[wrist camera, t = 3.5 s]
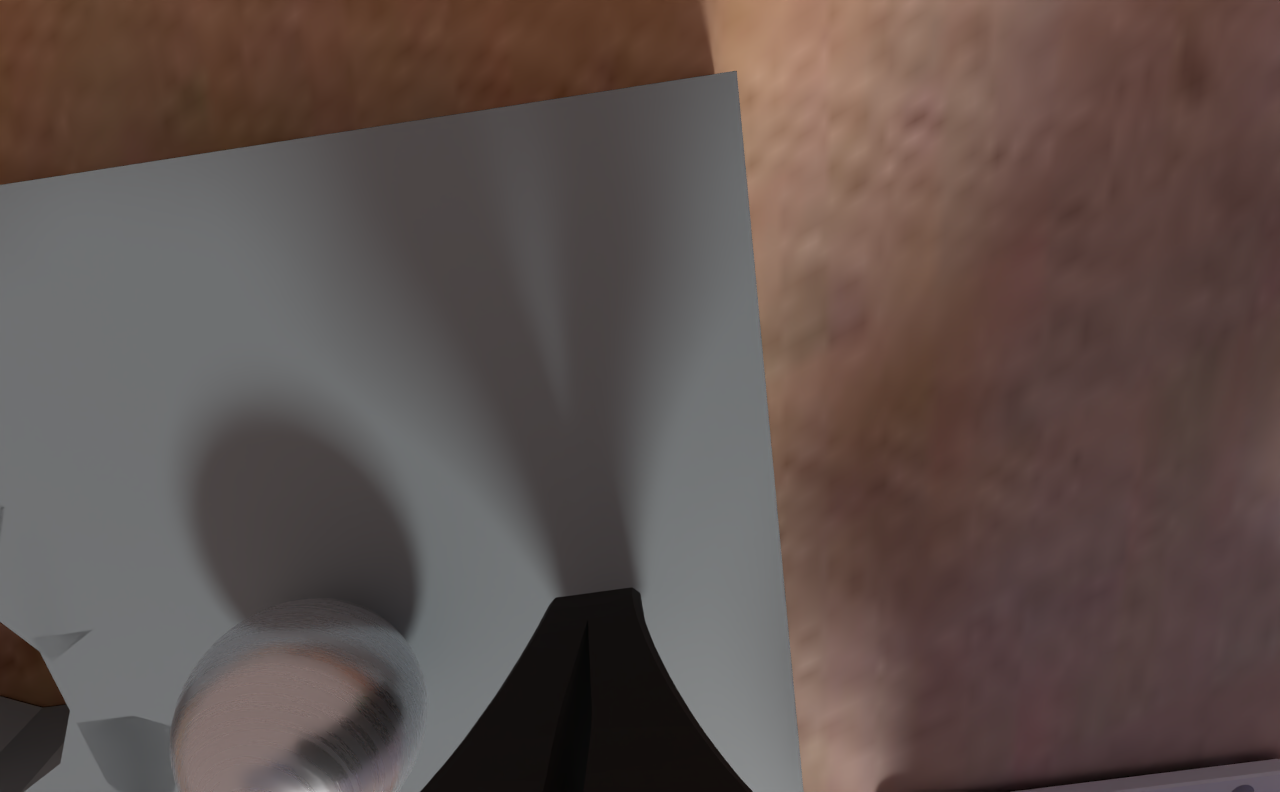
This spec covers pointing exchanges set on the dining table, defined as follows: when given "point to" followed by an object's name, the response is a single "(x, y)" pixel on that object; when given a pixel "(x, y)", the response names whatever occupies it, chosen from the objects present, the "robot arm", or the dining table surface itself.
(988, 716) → the dining table surface
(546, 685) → the robot arm
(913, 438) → the dining table surface
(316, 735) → the ball
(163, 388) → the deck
